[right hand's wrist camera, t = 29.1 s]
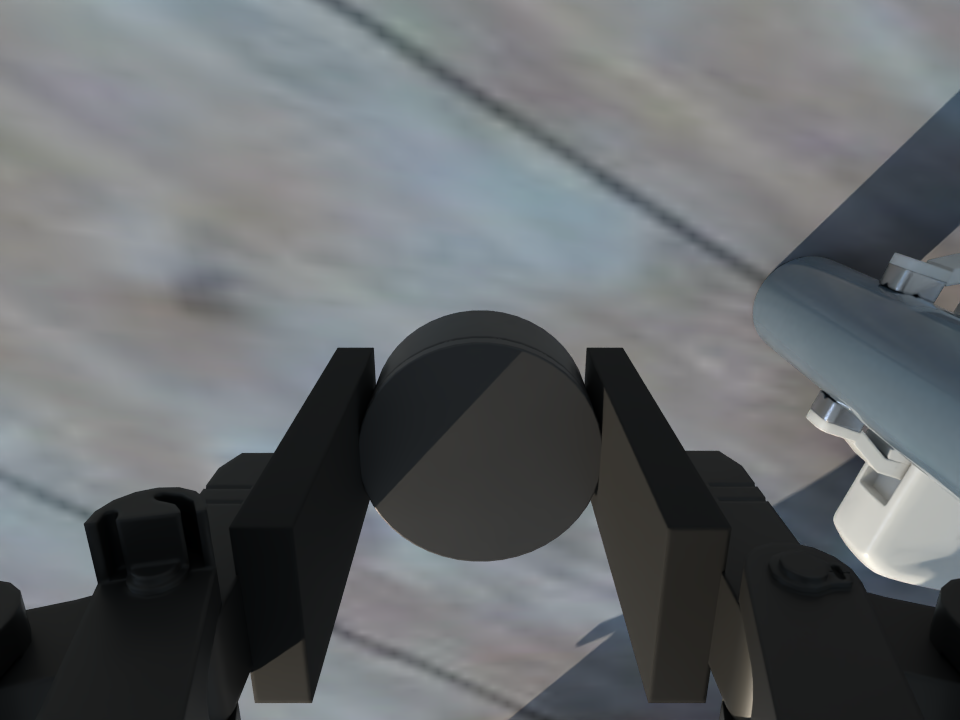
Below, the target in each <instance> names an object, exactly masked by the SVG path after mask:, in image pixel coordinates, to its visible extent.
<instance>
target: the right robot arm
mask: <svg viewBox="0 0 960 720" xmlns="http://www.w3.org/2000/svg"><path fill="white" fill-rule="evenodd" d="M375 386H376V379H375V361H374V348H337V350H336V351H335V353H334V355H333V356H332V358H331V360H330V361H329V363H328V365H327V366H326V368H325V370H324V371H323V373H322V375H321V376H320V378H319V380H318V381H317V383H316V385H315V386H314V388H313V389H312V391H311V393H310V394H309V396H308V398H307V399H306V401H305V403H304V404H303V406H302V408H301V409H300V411H299V413H298V414H297V416H296V418H295V419H294V421H293V422H292V424H291V426H290V427H289V429H288V431H287V432H286V434H285V436H284V437H283V439H282V441H281V442H280V444H279V446H278V447H277V449H276V451H275V452H274V453H241V454H240V455H238V456H237V457H235V458H234V459H232V460H231V461H229V462H228V463H226V464H224V465H223V466H221V467H220V468H219V469H218V470H217V471H216V473H215V474H214V476H213V477H212V478H211V480H210V481H209V482H208V484H207V485H206V489H203V490H202V492H201V493H200V494H199V493H197V492H196V491H193V490H189V489H184V488H180V487H168V488H154V489H149V490H144V491H139V492H135V493H132V494H129V495H126V496H124V497H121V498H118V499H116V500H113V501H112V502H110V503H108V504H107V505H105V506H103V507H102V508H100V509H98V510H97V511H95V512H94V513H93V514H92V515H91V517H90V518H89V519H88V520H87V521H86V522H85V523H84V526H85V531H86V535H87V539H88V543H89V548H90V552H91V556H92V560H93V565H94V569H95V573H96V577H97V582H98V585H97V587H96V589H95V591H94V593H93V595H92V596H89V597H85V598H81V599H78V600H73V601H68V602H63V603H59V604H54V605H49V606H44V607H39V608H34V609H29V610H26V609H25V606H24V602H23V599H22V595H21V592H20V590H19V589H17V588H16V587H15V586H14V585H13V584H11V583H9V582H3V581H0V720H241V718H240V711H239V705H238V700H239V697H240V695H241V693H242V690H243V688H244V685H245V683H246V680H247V678H248V676H249V673H251V680H252V686H253V693H254V700H255V703H312V701H313V697H314V694H315V690H316V687H317V683H318V680H319V676H320V673H321V669H322V666H323V662H324V659H325V655H326V652H327V648H328V645H329V641H330V638H331V634H332V631H333V627H334V624H335V620H336V617H337V613H338V610H339V606H340V603H341V599H342V596H343V592H344V589H345V585H346V581H347V578H348V574H349V571H350V567H351V564H352V560H353V557H354V553H355V550H356V546H357V543H358V539H359V536H360V532H361V529H362V525H363V522H364V518H365V515H366V511H367V508H368V504H369V501H370V499H369V497H368V495H367V493H366V491H365V488H364V485H363V482H362V479H361V466H360V452H359V432H360V428H361V423H362V420H363V418H364V415H365V413H366V410H367V407H368V405H369V402H370V399H371V397H372V394H373V392H374V389H375ZM585 387H586V390H587V393H588V395H589V398H590V400H591V403H592V406H593V408H594V411H595V413H596V416H597V419H598V421H599V424H600V429H601V433H602V443H601V458H600V473H599V482H598V485H597V487H596V490H595V492H594V495H593V496H592V498H591V503H592V506H593V510H594V513H595V517H596V520H597V524H598V527H599V531H600V534H601V538H602V541H603V545H604V548H605V552H606V555H607V559H608V562H609V566H610V569H611V573H612V576H613V580H614V583H615V587H616V590H617V594H618V597H619V601H620V605H621V608H622V612H623V615H624V619H625V622H626V626H627V629H628V633H629V636H630V640H631V643H632V647H633V650H634V654H635V657H636V661H637V664H638V668H639V671H640V675H641V678H642V682H643V685H644V689H645V692H646V696H647V699H648V703H706V696H707V689H708V683H709V676H710V669H711V671H712V674H713V676H714V678H715V681H716V683H717V686H718V688H719V690H720V693H721V695H722V698H723V699H722V705H721V711H720V717H719V720H960V578H958V579H952V580H950V581H949V582H948V583H946V584H945V585H944V586H943V587H942V588H941V590H940V594H939V597H938V601H937V604H936V607H931V606H926V605H921V604H917V603H912V602H907V601H902V600H897V599H892V598H887V597H883V596H879V595H875V594H872V593H868V592H866V590H865V588H864V586H863V583H862V582H861V581H860V579H859V578H858V577H857V575H856V574H855V573H854V571H853V570H852V569H851V568H849V567H848V566H847V565H845V564H844V563H842V562H841V561H840V560H838V559H837V558H835V557H834V556H831V555H829V554H827V553H824V552H822V551H820V550H817V549H815V548H812V547H808V546H803V545H800V544H799V542H798V541H797V540H796V538H795V537H794V536H793V534H792V533H791V532H790V530H789V529H788V527H787V526H786V525H785V523H784V522H783V521H782V519H781V518H780V517H779V515H778V514H777V513H776V511H775V510H774V509H773V507H772V506H771V505H770V503H769V502H768V501H766V500H765V496H764V495H763V494H762V492H761V491H760V490H759V488H758V487H755V483H754V482H753V480H752V479H751V478H750V476H749V475H748V473H747V472H746V471H745V469H744V468H743V467H742V466H741V465H740V464H738V463H737V462H735V461H734V460H732V459H730V458H729V457H727V456H726V455H724V454H723V453H721V452H720V451H685V450H684V448H683V446H682V445H681V443H680V442H679V440H678V438H677V437H676V435H675V433H674V432H673V430H672V428H671V427H670V425H669V423H668V422H667V420H666V418H665V417H664V415H663V413H662V412H661V410H660V408H659V407H658V405H657V404H656V402H655V400H654V399H653V397H652V395H651V394H650V392H649V390H648V389H647V387H646V385H645V384H644V382H643V380H642V379H641V377H640V375H639V374H638V372H637V371H636V369H635V367H634V366H633V364H632V362H631V361H630V359H629V357H628V356H627V354H626V352H625V351H624V349H623V348H587V351H586V369H585Z"/></svg>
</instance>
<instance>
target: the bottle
mask: <svg viewBox="0 0 960 720" xmlns="http://www.w3.org/2000/svg"><path fill="white" fill-rule="evenodd" d="M879 281H880V280H878V279H875V278H873V277H871V276H868V275H866V274H864V273H861V272H859V271H857V270H854V269H852V268H850V267H847V266H845V265H843V264H840V263H838V262H836V261H834V260H831V259H828V258H825V257H819V256H807V257H801V258H797V259H794V260H791V261H789V262H787V263H785V264H783V265H782V266H780V267H779V268H777V269H776V270H775V271H773V272H772V273H771V274H770V275H769V276H768V277H767V278H766V280H765V281H764V282H763V284H762V285H761V287H760V289H759V291H758V293H757V295H756V298H755V301H754V306H753V321H754V326H755V328H756V331H757V333H758V335H759V336H760V338H761V339H762V340H763V341H764V342H765V343H766V344H767V345H768V346H769V347H770V348H772V349H773V350H774V351H775V352H776V353H778V354H779V355H780V356H781V357H783V358H784V359H785V360H786V361H787V362H789V363H790V364H791V365H792V366H794V367H795V368H796V369H797V370H798V371H800V372H801V373H802V374H803V375H804V376H806V377H807V378H808V379H809V380H811V381H812V382H813V383H814V384H815V385H817V386H818V387H819V388H820V389H821V390H823V391H824V392H825V393H826V394H828V395H829V396H830V397H831V398H832V399H834V400H835V401H836V402H837V403H839V404H840V405H841V406H842V407H843V408H845V409H846V410H847V411H848V412H849V413H851V414H852V415H853V416H854V417H856V418H857V419H858V420H859V421H860V422H862V423H863V424H864V425H865V426H866V427H868V428H869V429H870V430H871V431H873V432H874V433H875V434H876V435H877V436H879V437H880V438H881V439H882V440H883V441H885V442H886V443H887V444H888V445H890V446H891V447H892V448H893V449H894V450H896V451H897V452H898V453H899V454H901V455H902V456H903V457H904V458H905V459H907V460H908V461H909V462H910V463H911V464H913V465H914V466H915V467H916V468H918V469H919V470H920V471H921V472H922V473H924V474H925V475H926V476H927V477H928V478H930V479H931V480H932V481H933V482H935V483H936V484H937V485H938V486H939V487H941V488H942V489H943V490H944V491H946V492H947V493H948V494H949V495H950V496H952V497H953V498H954V499H955V500H956V501H958V502H959V503H960V315H959V314H956V313H954V312H952V311H949V310H947V309H945V308H942V307H940V306H938V305H936V304H933V303H931V302H929V301H926V300H924V299H922V298H919V297H917V296H915V295H909V294H904V293H902V292H899V291H896V290H894V289H891V288H889V287H888V286H885V285H882V284H880V283H879Z"/></svg>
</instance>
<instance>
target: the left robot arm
mask: <svg viewBox="0 0 960 720" xmlns="http://www.w3.org/2000/svg"><path fill="white" fill-rule="evenodd" d="M879 283H880V284H882V285H885V286H888V287H889V288H891V289H894V290H896V291H899V292H902V293H904V294H909V295H915V296H917V297H919V298H922V299H924V300H926V301H929V302H931V303H934V302H935V300H936V299H937V297H938V295H939V294H940V292H941V290H942V289H943V287H944V286H950V285H956V284H960V253H957V254H952V255H948V256H944V257H939V258H935V259H931V260H928V261H927V263H926V262H923V261H920V260H917V259H914V258H911V257H908V256H905V255H902V254H899V253H896V252H895V253H894V255H893V257H892V259H891V260H890V262H889V264H888V266H887V268H886V270H885V272H884V274H883V276H882V278H881V279H880V281H879ZM954 313H956V314H959V315H960V302H959V304H958V306H957V307H956V309H955V311H954ZM806 418H807V419H808V420H809V421H810V422H811V423H812V424H813V425H814V426H816V427H817V428H818V429H820V430H822V431H824V432H826V433H828V434H832V435H835V436H838V437H841V438H844V439H845V441H846V442H847V443H848V444H849V446H850V447H851V448H852V449H853V451H854V452H855V453H856V454H858V455H859V456H860V457H861V458H862V459H863V460H864V461H865V464H864V465H863V467H862V469H861V470H860V472H859V474H858V475H857V477H856V479H855V481H854V482H853V484H852V486H851V487H850V489H849V491H848V492H847V494H846V496H845V498H844V499H843V501H842V503H841V504H840V506H839V507H838V509H837V511H836V513H835V515H834V518H833V521H834V524H835V526H836V529H837V531H838V532H839V534H840V536H841V538H842V539H843V541H844V542H845V544H846V545H847V546H848V548H849V549H850V550H851V552H852V553H853V554H854V555H855V556H856V557H857V558H858V559H859V560H860V561H861V562H862V563H863V564H864V565H865V566H866V567H867V568H869V569H870V570H871V571H873V572H875V573H877V574H879V575H881V576H884V577H887V578H890V579H894V580H897V581H901V582H905V583H909V584H913V585H917V586H922V587H926V588H931V589H936V590H941V588H942V587H943V586H944V585H945V584H946V583H948V582H949V581H950V580H952V579H958V578H960V503H959V502H958V501H956V500H955V499H954V498H953V497H952V496H950V495H949V494H948V493H947V492H946V491H944V490H943V489H942V488H941V487H939V486H938V485H937V484H936V483H935V482H933V481H932V480H931V479H930V478H928V477H927V476H926V475H925V474H924V473H922V472H921V471H920V470H919V469H918V468H916V467H915V466H914V465H913V464H911V463H910V462H909V461H908V460H907V459H905V458H904V457H903V456H902V455H901V454H899V453H898V452H897V451H896V450H894V449H893V448H892V447H891V446H890V445H888V444H887V443H886V442H885V441H883V440H882V439H881V438H880V437H879V436H877V435H876V434H875V433H874V432H873V431H871V430H870V429H868V430H867V431H866V433H864V431H863V430H862V428H863V426H864V424H863V423H862V422H860V421H859V420H858V419H857V418H856V417H854V416H853V415H852V414H851V413H849V412H848V411H847V410H846V409H845V408H843V407H842V406H841V405H840V404H839V403H837V402H836V401H835V400H834V399H832V398H831V397H830V396H829V395H828V394H826V393H825V392H824V391H823V390H820V392H819V394H818V396H817V397H816V399H815V401H814V403H813V404H812V406H811V409H810V410H809V412H808V414H807V416H806Z"/></svg>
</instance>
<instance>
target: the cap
mask: <svg viewBox="0 0 960 720" xmlns="http://www.w3.org/2000/svg"><path fill="white" fill-rule="evenodd" d="M601 443H602V433H601V429H600V424H599V421H598V419H597V416H596V413H595V411H594V408H593V406H592V403H591V400H590V398H589V395H588V393H587V390H586V387H585V385H584V382H583V380H582V377H581V374H580V372H579V369H578V367H577V366H576V364H575V362H574V360H573V359H572V357H571V356H570V354H569V353H568V352H567V350H566V349H565V348H564V347H563V346H562V345H561V344H560V343H559V342H558V341H557V340H556V339H555V338H554V337H553V336H552V335H550V334H549V333H548V332H546V331H545V330H544V329H542V328H541V327H539V326H537V325H535V324H534V323H532V322H530V321H527V320H525V319H522V318H520V317H518V316H514V315H510V314H506V313H503V312H495V311H466V312H458V313H453V314H450V315H447V316H443V317H441V318H438V319H436V320H433V321H431V322H429V323H427V324H425V325H424V326H422V327H420V328H418V329H417V330H416V331H414V332H413V333H412V334H410V335H409V336H408V337H406V338H405V339H404V340H403V341H402V342H401V343H400V344H399V345H398V346H397V348H396V349H395V350H394V351H393V353H392V354H391V355H390V357H389V358H388V360H387V362H386V363H385V365H384V367H383V369H382V371H381V374H380V376H379V379H378V381H377V384H376V386H375V389H374V392H373V394H372V397H371V399H370V402H369V405H368V407H367V410H366V413H365V415H364V418H363V420H362V423H361V428H360V432H359V452H360V466H361V479H362V482H363V485H364V488H365V491H366V493H367V495H368V497H369V499H370V500H371V502H372V504H373V506H374V507H375V509H376V510H377V511H378V513H379V514H380V516H381V517H382V518H383V519H384V520H385V521H386V522H387V523H388V524H389V525H390V527H391V528H393V529H394V530H395V531H396V532H397V533H399V534H400V535H401V536H402V537H404V538H405V539H407V540H408V541H410V542H412V543H413V544H415V545H416V546H419V547H421V548H423V549H425V550H427V551H429V552H432V553H435V554H438V555H441V556H444V557H448V558H453V559H457V560H465V561H495V560H504V559H508V558H513V557H517V556H520V555H523V554H526V553H529V552H532V551H534V550H536V549H538V548H540V547H542V546H544V545H546V544H548V543H549V542H551V541H552V540H554V539H556V538H557V537H558V536H560V535H561V534H562V533H563V532H565V531H566V530H567V529H568V528H569V527H570V526H571V525H572V524H573V523H574V522H575V521H576V520H577V519H578V518H579V517H580V515H581V514H582V512H583V511H584V510H585V508H586V507H587V505H588V504H589V502H590V500H591V498H592V496H593V495H594V492H595V490H596V487H597V485H598V482H599V473H600V458H601Z"/></svg>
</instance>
